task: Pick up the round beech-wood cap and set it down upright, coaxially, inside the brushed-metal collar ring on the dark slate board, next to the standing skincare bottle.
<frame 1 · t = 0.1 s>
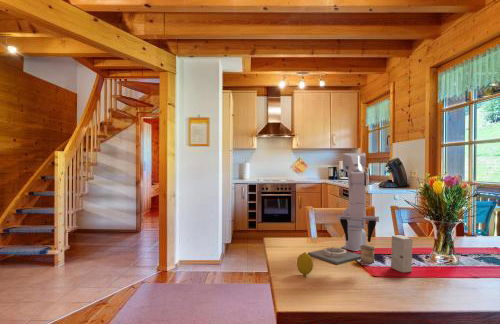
hand: (357, 241, 115), 10 cm above the table, tool pointing down, fingers open, 7 cm apart
lemon: (304, 276, 109), on the table
collar board: (335, 256, 132), on the table
skincare box: (401, 270, 116), on the table
cap: (367, 261, 125), on the table
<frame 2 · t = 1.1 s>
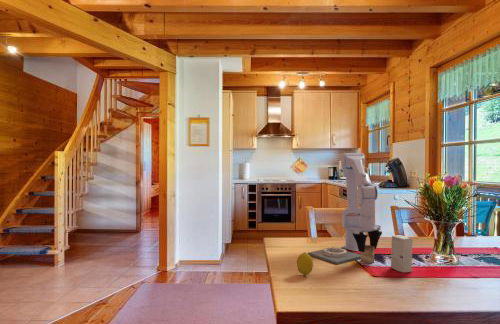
hand: (367, 250, 125), 5 cm above the table, tool pointing down, fingers open, 7 cm apart
nothing on the table moved.
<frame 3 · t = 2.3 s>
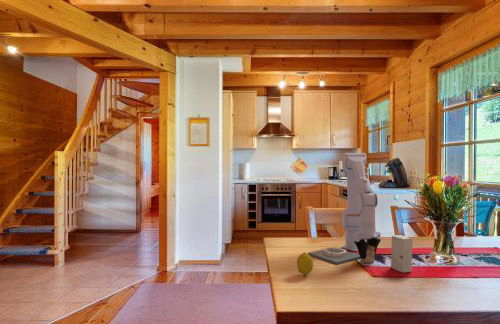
hand: (367, 257, 125), 2 cm above the table, tool pointing down, fingers closed on cap, 5 cm apart
cap: (367, 261, 125), on the table, touching gripper
everything else where it was.
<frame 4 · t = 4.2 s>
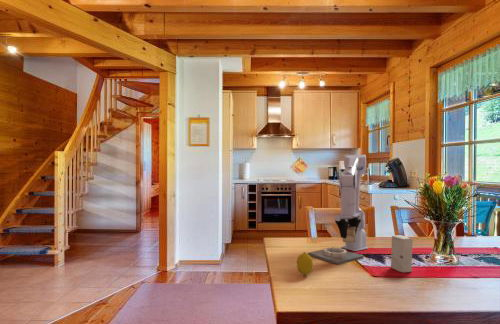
hand: (348, 236, 130), 9 cm above the table, tool pointing down, fingers closed on cap, 5 cm apart
cap: (349, 241, 129), point 7 cm above the table, touching gripper
everything else where it was.
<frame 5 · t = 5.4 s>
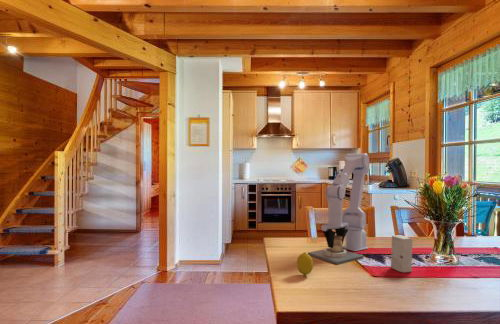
hand: (335, 246, 132), 4 cm above the table, tool pointing down, fingers closed on cap, 5 cm apart
cap: (336, 251, 132), point 2 cm above the table, touching gripper
everything else where it was.
when the fingers open (3 cm above the table, at t = 6.5 s): cap stays where it is, resting on collar board.
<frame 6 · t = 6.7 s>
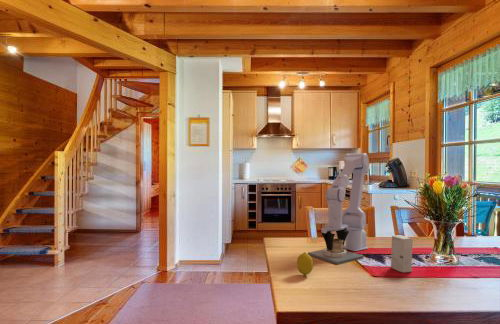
hand: (335, 248, 132), 3 cm above the table, tool pointing down, fingers open, 6 cm apart
cap: (336, 254, 132), point 1 cm above the table, touching collar board
everything else where it was.
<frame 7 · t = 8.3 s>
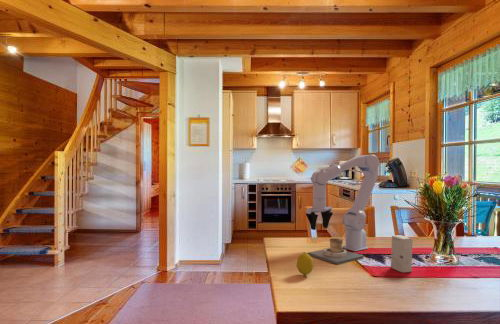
hand: (319, 228, 141), 10 cm above the table, tool pointing down, fingers open, 7 cm apart
nothing on the table moved.
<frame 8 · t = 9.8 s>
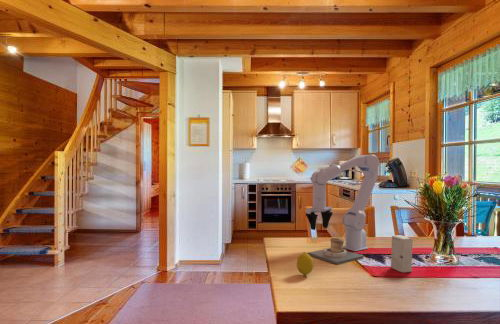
hand: (319, 228, 141), 10 cm above the table, tool pointing down, fingers open, 7 cm apart
nothing on the table moved.
at the end: cap 0.6 cm off-centre on the collar board, point 1.1 cm above the collar board's base; cap tilted 3°; the gripper is holding nothing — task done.
